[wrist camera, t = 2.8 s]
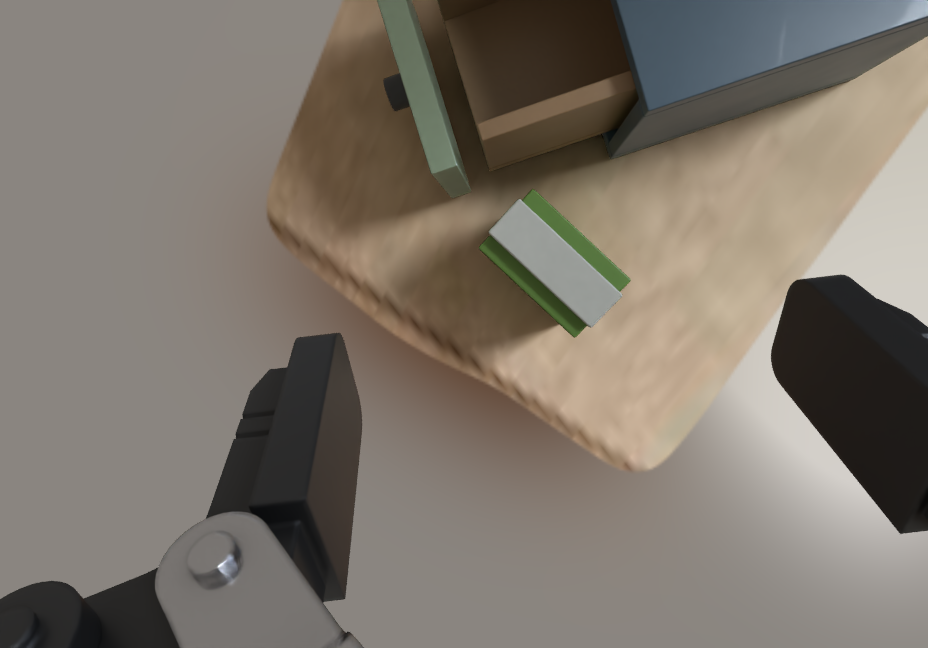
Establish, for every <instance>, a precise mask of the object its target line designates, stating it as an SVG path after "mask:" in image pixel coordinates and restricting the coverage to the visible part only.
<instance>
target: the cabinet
mask: <svg viewBox="0 0 928 648" xmlns="http://www.w3.org/2000/svg"><path fill="white" fill-rule="evenodd" d="M611 4H612V7H613V11H614V14H615V18H616V21H617V24H618V28H619V31H620V35H621V38H622V42H623V45H624V49H625V52H626V55H627V59H628V62H629V66H630V69H631V73H632V76H633V80H634V83H635V87H636V90H637V93H638V97H639V100H638V101H637V103H636V104H635V106H634V107H633V109H632V110H631V111H630V113H629V114H628V116H627V117H626V119H625V120H624V122H623V123H622V125H621V126H620V127H619V128H618V129H615V130H612V131H609V132H606V133H603V137H604V141H605V144H606V148H607V151H608V154H609V158H610V159H613V158H616V157H619V156H622V155H625V154H628V153H631V152H634V151H637V150H641V149H644V148H647V147H650V146H653V145H656V144H659V143H662V142H665V141H668V140H671V139H674V138H677V137H680V136H683V135H686V134H689V133H692V132H695V131H698V130H701V129H704V128H707V127H710V126H713V125H716V124H719V123H722V122H725V121H728V120H731V119H734V118H737V117H740V116H743V115H746V114H749V113H752V112H755V111H758V110H761V109H765V108H768V107H771V106H774V105H777V104H780V103H783V102H786V101H789V100H792V99H795V98H798V97H801V96H804V95H807V94H810V93H813V92H816V91H819V90H822V89H825V88H828V87H831V86H834V85H837V84H840V83H843V82H846V81H849V80H852V79H855V78H857V77H858V76H860V75H862V74H863V73H865V72H867V71H869V70H870V69H872V68H874V67H875V66H877V65H879V64H881V63H882V62H884V61H886V60H887V59H889V58H891V57H893V56H894V55H896V54H898V53H899V52H901V51H903V50H905V49H906V48H908V47H910V46H911V45H913V44H915V43H916V42H918V41H920V40H922V39H923V38H925V37H927V36H928V0H611Z"/></svg>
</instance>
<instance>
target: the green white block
mask: <svg viewBox="0 0 928 648" xmlns="http://www.w3.org/2000/svg"><path fill="white" fill-rule="evenodd" d="M489 234H490V236H489V237H488V238H487V239H486V240H485V241H484V242H483V243H482V244H481V245H480V246H479V249H480V250H481V251H482V252H483V253H484V254H485V255H486V256H487V257H488V258H489V259H490V260H491V261H492V262H494V263H495V264H496V265H497V266H498V267H499V268H500V269H501V270H502V271H503V272H504V273H505V274H506V275H507V276H509V277H510V278H511V279H512V280H513V281H514V282H515V283H516V284H517V285H518V286H519V287H520V288H521V289H522V290H523V291H525V292H526V293H527V294H528V295H529V296H530V297H531V298H532V299H533V300H534V301H535V302H536V303H537V304H538V305H540V306H541V307H542V308H543V309H544V310H545V311H546V312H547V313H548V314H549V315H550V316H551V317H552V318H553V319H555V320H556V321H557V322H558V323H559V324H560V325H561V326H562V327H563V328H564V329H565V330H566V331H567V332H568V333H569V334H571V335H572V336H573V337H574V338H575V337H577V336H578V334H579V333H580V332H581V331H582V330H583V329H584V328H585V327H586V326H588V327H590V328H591V327H593V326H594V325H595V324H596V323H597V322H598V321H599V320H600V318H601V317H602V316H603V315H604V314H605V313H606V312H607V311H608V310H609V309H610V308H611V307H612V306H613V305H614V304H615V303H616V302H617V301H618V300H619V299H620V298H621V297H622V294H621V293H620V291H621V290H622V289H623V288H624V287H625V286H626V285H627V284H628V283H629V282H630V278H629V277H628V276H627V275H626V274H624V273H623V272H622V271H621V270H620V269H619V268H618V267H617V266H616V265H615V264H614V263H613V262H612V261H610V260H609V259H608V258H607V257H606V256H605V255H604V254H603V253H602V252H601V251H600V250H599V249H598V248H597V247H595V246H594V245H593V244H592V243H591V242H590V241H589V240H588V239H587V238H586V237H585V236H584V235H583V234H582V233H580V232H579V231H578V230H577V229H576V228H575V227H574V226H573V225H572V224H571V223H570V222H569V221H568V220H566V219H565V218H564V217H563V216H562V215H561V214H560V213H559V212H558V211H557V210H556V209H555V208H554V207H553V206H551V205H550V204H549V203H548V202H547V201H546V200H545V199H544V198H543V197H542V196H541V195H540V194H539V193H538V192H536V191H535V190H534V189H532V190H531V191H530V192H529V193H528V194H527V195H526V196H525V197H524V199H523V200H521V199H518V200H517V201H516V202H515V203H514V204H513V205H512V206H511V207H510V208H509V210H508V211H507V212H506V213H505V214H504V215H503V216H502V217H501V218H500V219H499V220H498V222H497V223H496V224H495V225H494V226H493V227H492V228H491V229H490V230H489Z"/></svg>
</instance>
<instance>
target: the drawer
mask: <svg viewBox="0 0 928 648" xmlns="http://www.w3.org/2000/svg"><path fill="white" fill-rule="evenodd" d="M437 1H438V4H439V8H440V11H441V15H442V18H443V21H444V24H445V28H446V31H447V34H448V38H449V41H450V44H451V47H452V51H453V54H454V57H455V60H456V64H457V67H458V70H459V73H460V77H461V80H462V83H463V87H464V90H465V93H466V96H467V100H468V103H469V106H470V109H471V113H472V116H473V119H474V123H475V126H476V129H477V132H478V136H479V139H480V142H481V145H482V149H483V152H484V155H485V158H486V162H487V165H488V168H489V171H493V170H496V169H499V168H502V167H505V166H508V165H511V164H514V163H517V162H519V161H522V160H525V159H528V158H531V157H534V156H537V155H540V154H543V153H546V152H549V151H552V150H555V149H558V148H561V147H564V146H567V145H570V144H573V143H576V142H579V141H582V140H585V139H588V138H591V137H594V136H597V135H600V134H603V133H606V132H609V131H612V130H615V129H618V128H619V127H620V126H621V125H622V123H623V122H624V120H625V119H626V117H627V116H628V114H629V113H630V111H631V110H632V109H633V107H634V106H635V104H636V103H637V101H638V100H639V97H638V93H637V90H636V87H635V83H634V80H633V76H632V73H631V69H630V66H629V62H628V59H627V55H626V52H625V49H624V45H623V42H622V38H621V35H620V31H619V28H618V24H617V21H616V18H615V14H614V11H613V7H612V4H611V0H437ZM377 2H378V5H379V8H380V11H381V14H382V18H383V21H384V24H385V27H386V31H387V34H388V37H389V40H390V43H391V47H392V50H393V53H394V56H395V59H396V63H397V66H398V69H399V72H400V73H399V74H396V75H393V76H390V77H388V78H385V79H384V87H385V90H386V93H387V96H388V99H389V102H390V104H391V106H392V108H393V110H394V111H398V110H401V109H404V108H407V107H410V108H411V111H412V114H413V117H414V120H415V124H416V127H417V130H418V133H419V136H420V140H421V143H422V146H423V149H424V152H425V156H426V159H427V162H428V165H429V169H430V172H431V174H432V175H433V176H434V178H435V179H436V180H437V181H438V182H439V184H440V185H441V186H442V187H443V188H444V190H445V191H446V192H447V193H448V194H449V196H450V197H451V198H455V197H458V196H461V195H464V194H467V193H470V192H471V188H470V185H469V182H468V179H467V175H466V172H465V169H464V166H463V162H462V159H461V156H460V153H459V149H458V146H457V143H456V140H455V136H454V133H453V130H452V127H451V124H450V120H449V117H448V114H447V111H446V107H445V104H444V101H443V98H442V94H441V91H440V88H439V85H438V81H437V78H436V75H435V72H434V68H433V65H432V62H431V59H430V55H429V52H428V49H427V46H426V42H425V39H424V36H423V33H422V29H421V26H420V23H419V20H418V16H417V13H416V11H415V8H414V5H413V3H412V0H377Z"/></svg>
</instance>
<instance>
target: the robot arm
mask: <svg viewBox="0 0 928 648" xmlns="http://www.w3.org/2000/svg"><path fill="white" fill-rule="evenodd" d="M771 362H772V368H773V371H774V374H775V376H776V378H777V380H778V382H779V383H780V384H781V386H782V387H783V388H784V390H785V391H786V392H787V393H788V395H789V396H790V397H791V398H792V399H793V401H794V402H795V403H796V405H797V406H798V407H799V408H800V409H801V411H802V412H803V413H804V415H805V416H806V417H807V418H808V419H809V420H810V422H811V423H812V424H813V426H814V427H815V428H816V429H817V431H818V432H819V433H820V434H821V436H822V437H823V438H824V439H825V441H826V442H827V443H828V444H829V446H830V447H831V448H832V449H833V451H834V452H835V453H836V454H837V455H838V457H839V458H840V459H841V460H842V462H843V463H844V464H845V465H846V467H847V468H848V469H849V471H850V472H851V473H852V474H853V476H854V477H855V478H856V479H857V480H858V482H859V483H860V484H861V485H862V487H863V488H864V489H865V490H866V492H867V493H868V494H869V495H870V497H871V498H872V499H873V500H874V502H875V503H876V504H877V505H878V507H879V508H880V509H881V510H882V512H883V513H884V514H885V515H886V517H887V518H888V519H889V520H890V522H891V523H892V524H893V525H894V527H895V528H896V529H897V530H898V531H899V533H900V534H903V533H911V532H919V531H928V327H927V326H926V325H924V324H923V323H922V322H921V321H919V320H918V319H917V318H915V317H914V316H913V315H912V314H910V313H908V312H905V311H903V310H901V309H899V308H897V307H894V306H892V305H890V304H888V303H886V302H883V301H881V300H879V299H876V298H875V297H874V296H872V295H871V294H870V293H869V292H867V291H866V290H865V289H864V288H863V287H861V286H860V285H859V284H857V283H856V282H855V281H854V280H853V279H851V278H850V277H848V276H846V275H834V276H825V277H817V278H809V279H800V280H796V281H795V282H793V283H792V285H791V286H790V288H789V290H788V292H787V296H786V299H785V303H784V307H783V310H782V314H781V317H780V321H779V325H778V328H777V332H776V335H775V339H774V343H773V346H772V351H771ZM361 435H362V414H361V405H360V399H359V395H358V391H357V387H356V384H355V380H354V376H353V373H352V369H351V365H350V361H349V358H348V354H347V350H346V347H345V343H344V340H343V337H342V335H341V334H340V333H332V334H325V335H316V336H308V337H299V338H297V339H296V340H295V343H294V346H293V350H292V353H291V357H290V360H289V364H288V367H287V368H279V369H270V370H269V371H268V372H267V373H266V374H265V375H264V377H263V378H262V379H261V380H260V381H259V382H258V383H257V384H256V386H255V387H254V388H253V389H252V390H251V391H250V394H249V397H248V400H247V403H246V406H245V409H244V411H243V419H241V420H240V423H239V426H238V429H237V432H236V439H234V441H233V443H232V446H231V449H230V452H229V455H228V458H227V460H226V463H225V466H224V469H223V472H222V475H221V478H220V480H219V483H218V486H217V489H216V492H215V495H214V498H213V501H212V503H211V506H210V509H209V512H208V515H207V517H206V519H205V520H203V521H201V522H199V523H197V524H196V525H194V526H193V527H191V528H190V529H188V530H187V531H186V532H184V533H183V534H182V535H181V536H180V537H179V538H178V539H177V540H176V541H175V542H174V543H173V544H172V545H171V547H170V548H169V549H168V551H167V552H166V553H165V555H164V557H163V559H162V560H161V562H160V564H159V567H158V568H156V569H155V570H152V571H150V572H148V573H146V574H144V575H141V576H139V577H137V578H134V579H132V580H129V581H126V582H124V583H122V584H119V585H117V586H114V587H112V588H109V589H107V590H104V591H102V592H99V593H97V594H94V595H92V596H89V597H87V598H84V599H83V598H82V597H81V596H80V594H79V593H78V592H77V591H76V590H75V589H74V588H73V587H72V586H70V585H68V584H66V583H63V582H57V581H48V582H40V583H36V584H32V585H29V586H26V587H24V588H21V589H18V590H16V591H15V592H12V593H10V594H8V595H7V596H5V597H3V598H2V599H0V648H364V647H363V646H362V645H361V644H360V642H359V641H358V640H357V639H356V638H355V637H354V636H353V635H352V634H351V633H350V632H347V633H345V632H344V631H343V630H342V628H341V627H340V626H339V625H338V623H337V622H336V621H335V619H334V618H333V616H332V615H331V613H330V612H329V611H328V609H327V608H326V607H325V605H324V604H323V602H325V601H333V600H342V599H345V595H346V585H347V575H348V565H349V554H350V545H351V535H352V525H353V515H354V505H355V504H354V503H355V495H356V485H357V475H358V465H359V455H360V445H361Z"/></svg>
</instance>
